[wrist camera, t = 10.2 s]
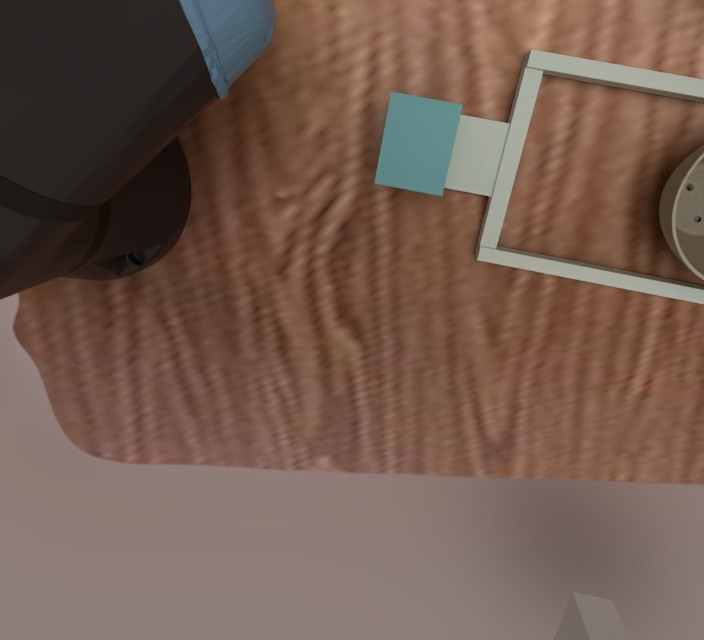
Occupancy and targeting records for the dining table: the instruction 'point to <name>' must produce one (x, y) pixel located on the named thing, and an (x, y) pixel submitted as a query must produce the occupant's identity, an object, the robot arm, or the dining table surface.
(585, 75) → the frame
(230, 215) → the dining table surface
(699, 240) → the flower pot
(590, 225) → the dining table surface
